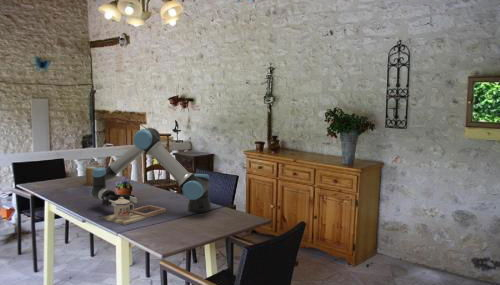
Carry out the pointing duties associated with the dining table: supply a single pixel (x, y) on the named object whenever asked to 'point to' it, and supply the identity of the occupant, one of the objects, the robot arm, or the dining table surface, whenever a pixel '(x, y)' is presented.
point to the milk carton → (90, 172)
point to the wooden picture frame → (158, 211)
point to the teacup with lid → (122, 208)
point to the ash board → (126, 221)
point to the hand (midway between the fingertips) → (126, 202)
